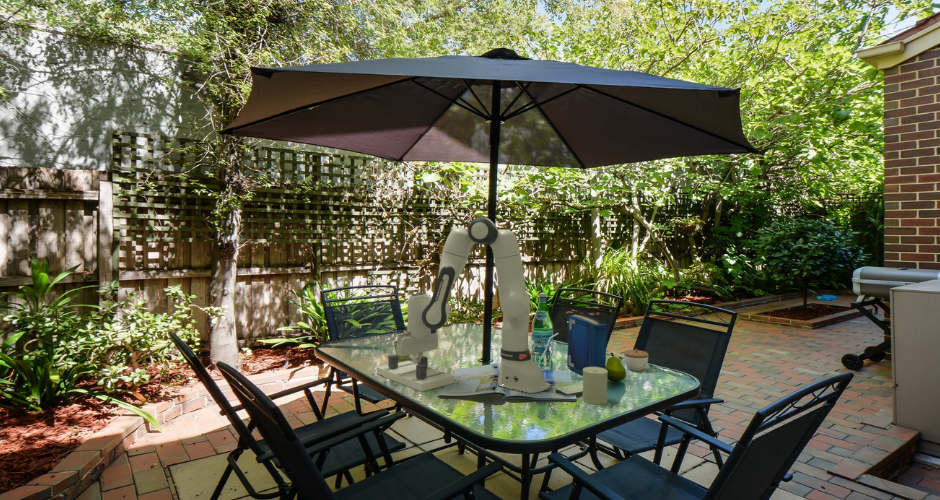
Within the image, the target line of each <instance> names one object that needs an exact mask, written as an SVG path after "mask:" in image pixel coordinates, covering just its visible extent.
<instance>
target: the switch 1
mask: <svg viewBox="0 0 940 500" xmlns="http://www.w3.org/2000/svg"><path fill="white" fill-rule="evenodd" d="M387 359H388V362H387V363H388V364H387V365H388V367H389V368H392V369H393V368H398V363H399V361H398V356H396V354H391V355H388V358H387Z"/></svg>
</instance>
